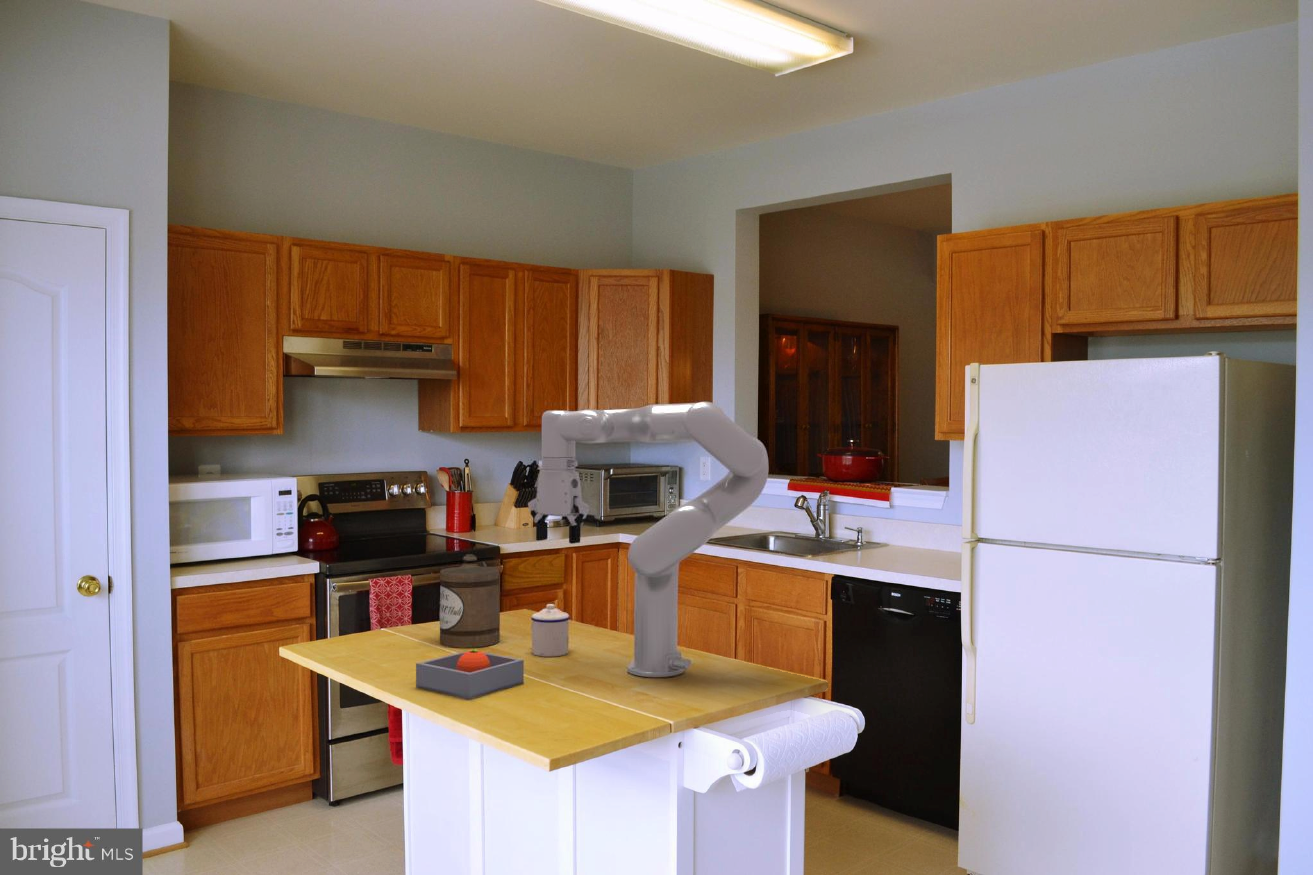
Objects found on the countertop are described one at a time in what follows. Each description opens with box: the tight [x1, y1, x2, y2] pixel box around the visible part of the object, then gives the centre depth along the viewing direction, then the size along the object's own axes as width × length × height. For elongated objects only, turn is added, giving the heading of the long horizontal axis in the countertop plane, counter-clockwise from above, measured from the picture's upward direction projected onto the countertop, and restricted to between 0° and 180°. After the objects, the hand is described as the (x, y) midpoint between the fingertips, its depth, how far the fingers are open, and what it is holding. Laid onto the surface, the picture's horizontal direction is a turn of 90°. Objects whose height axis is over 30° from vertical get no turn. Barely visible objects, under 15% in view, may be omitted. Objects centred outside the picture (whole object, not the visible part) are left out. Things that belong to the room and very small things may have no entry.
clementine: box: [457, 649, 490, 673], centre depth 207 cm, size 8×7×7 cm
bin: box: [415, 649, 525, 700], centre depth 208 cm, size 16×16×5 cm
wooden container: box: [439, 553, 501, 649], centre depth 250 cm, size 15×15×22 cm
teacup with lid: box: [530, 603, 570, 658], centre depth 239 cm, size 12×9×12 cm
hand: (558, 541), depth 224 cm, fingers open, 9 cm apart
